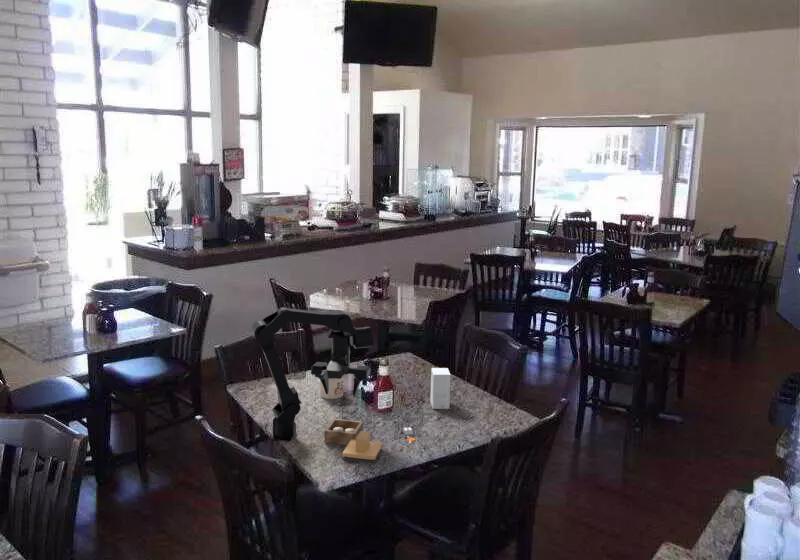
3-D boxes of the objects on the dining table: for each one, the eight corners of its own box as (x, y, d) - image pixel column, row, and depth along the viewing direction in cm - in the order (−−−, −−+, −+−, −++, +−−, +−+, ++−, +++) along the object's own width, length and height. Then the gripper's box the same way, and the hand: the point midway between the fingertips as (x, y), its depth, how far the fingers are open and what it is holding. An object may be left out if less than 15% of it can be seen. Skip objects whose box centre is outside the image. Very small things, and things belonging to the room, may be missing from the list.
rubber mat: (343, 459, 202) (343, 457, 202) (351, 446, 211) (351, 445, 210) (375, 463, 200) (375, 461, 200) (382, 450, 209) (382, 448, 209)
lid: (342, 458, 201) (342, 440, 200) (351, 444, 211) (351, 427, 210) (374, 462, 200) (375, 443, 198) (382, 447, 209) (382, 430, 208)
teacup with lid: (338, 401, 249) (338, 370, 247) (315, 398, 251) (315, 368, 249) (350, 390, 260) (350, 361, 258) (328, 387, 263) (328, 358, 260)
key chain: (400, 431, 225) (400, 426, 224) (411, 430, 225) (411, 426, 225) (408, 447, 212) (408, 443, 212) (419, 447, 213) (419, 442, 212)
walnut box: (324, 442, 213) (324, 430, 212) (333, 430, 223) (333, 418, 222) (355, 445, 211) (355, 433, 211) (363, 433, 221) (363, 421, 220)
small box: (449, 409, 243) (450, 374, 241) (432, 409, 243) (433, 374, 240) (446, 401, 251) (448, 367, 249) (430, 401, 251) (431, 367, 248)
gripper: (305, 354, 212) (305, 401, 215) (362, 359, 209) (361, 406, 212) (316, 344, 223) (316, 389, 226) (371, 349, 219) (370, 394, 222)
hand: (340, 395), depth 221 cm, fingers open, 9 cm apart
